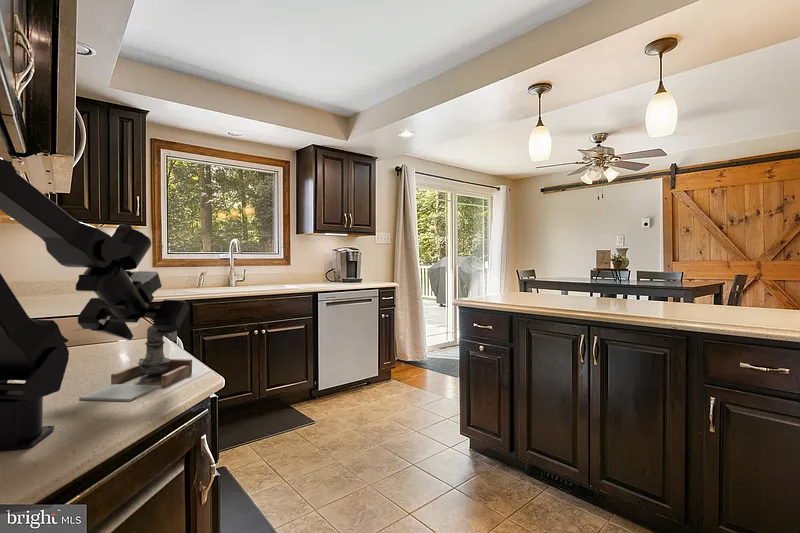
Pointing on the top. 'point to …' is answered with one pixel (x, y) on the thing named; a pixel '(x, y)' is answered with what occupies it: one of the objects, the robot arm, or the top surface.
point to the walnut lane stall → (171, 374)
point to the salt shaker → (153, 357)
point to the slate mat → (119, 392)
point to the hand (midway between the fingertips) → (153, 338)
